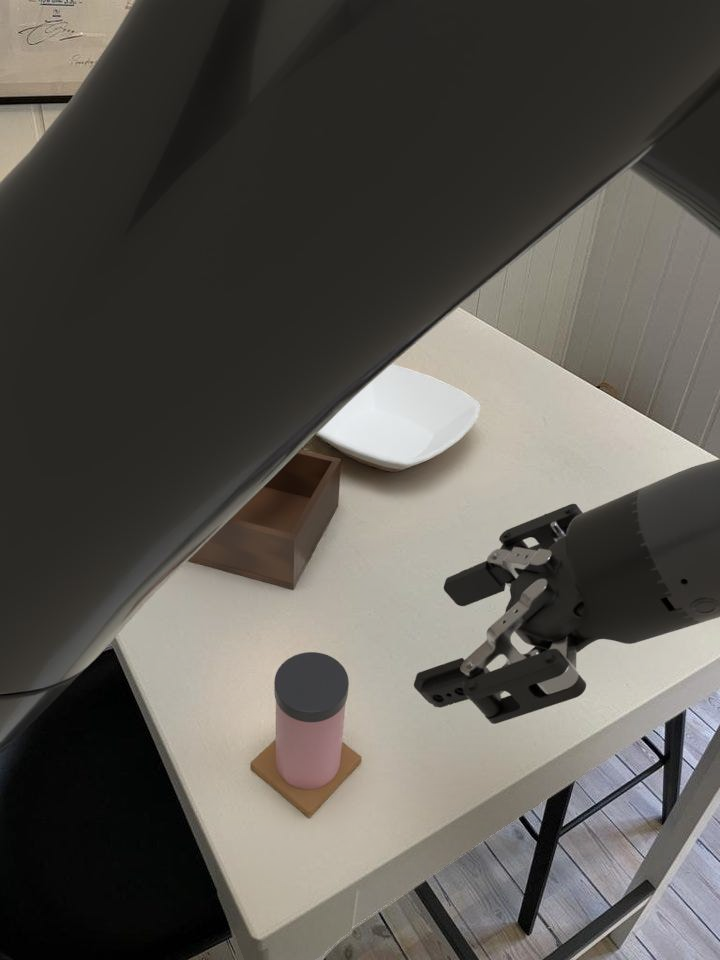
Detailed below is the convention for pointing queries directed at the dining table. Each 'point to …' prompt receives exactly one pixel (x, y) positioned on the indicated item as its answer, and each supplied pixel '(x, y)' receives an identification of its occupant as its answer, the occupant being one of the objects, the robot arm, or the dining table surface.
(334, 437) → the bowl
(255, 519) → the chest
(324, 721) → the tube
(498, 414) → the dining table surface
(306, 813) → the cork mat
